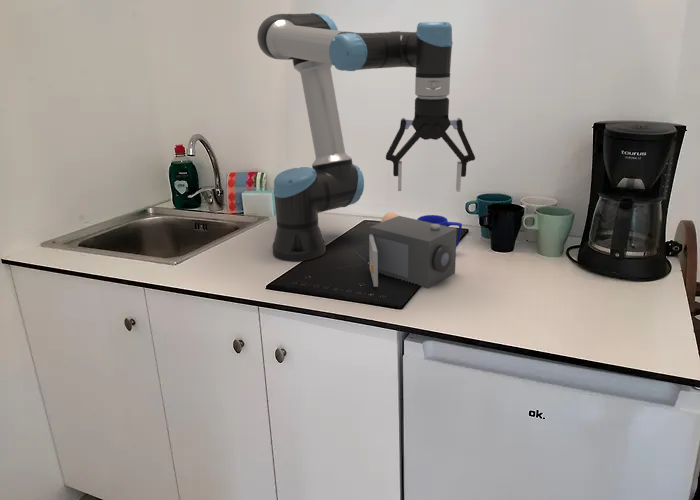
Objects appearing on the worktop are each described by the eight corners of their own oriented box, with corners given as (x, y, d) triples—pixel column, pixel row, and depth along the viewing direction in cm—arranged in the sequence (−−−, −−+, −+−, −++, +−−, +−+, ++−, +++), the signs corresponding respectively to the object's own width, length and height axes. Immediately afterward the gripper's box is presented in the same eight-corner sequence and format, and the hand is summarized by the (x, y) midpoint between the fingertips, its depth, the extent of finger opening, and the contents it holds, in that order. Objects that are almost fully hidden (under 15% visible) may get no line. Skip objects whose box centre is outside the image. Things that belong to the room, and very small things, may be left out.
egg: (387, 242, 169) (387, 216, 166) (376, 236, 175) (376, 211, 172) (406, 238, 172) (406, 213, 169) (394, 232, 178) (394, 207, 175)
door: (367, 269, 148) (366, 234, 145) (373, 269, 148) (372, 234, 145) (371, 288, 137) (370, 250, 134) (377, 287, 137) (377, 250, 134)
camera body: (370, 270, 149) (369, 223, 145) (398, 257, 158) (398, 212, 153) (433, 290, 137) (435, 239, 132) (460, 274, 145) (462, 226, 141)
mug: (460, 260, 154) (461, 225, 151) (415, 258, 157) (415, 223, 153) (460, 249, 162) (462, 215, 158) (418, 247, 164) (418, 214, 161)
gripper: (374, 99, 124) (374, 193, 132) (491, 98, 122) (484, 194, 130) (376, 95, 131) (376, 185, 139) (487, 94, 129) (480, 186, 137)
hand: (428, 190), depth 134 cm, fingers open, 13 cm apart
